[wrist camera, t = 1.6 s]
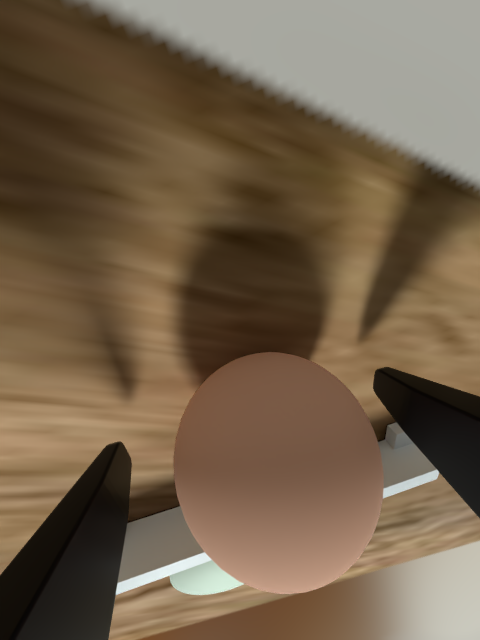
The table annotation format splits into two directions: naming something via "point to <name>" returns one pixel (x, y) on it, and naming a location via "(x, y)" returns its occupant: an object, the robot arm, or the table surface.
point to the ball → (278, 473)
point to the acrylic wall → (184, 551)
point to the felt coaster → (203, 580)
